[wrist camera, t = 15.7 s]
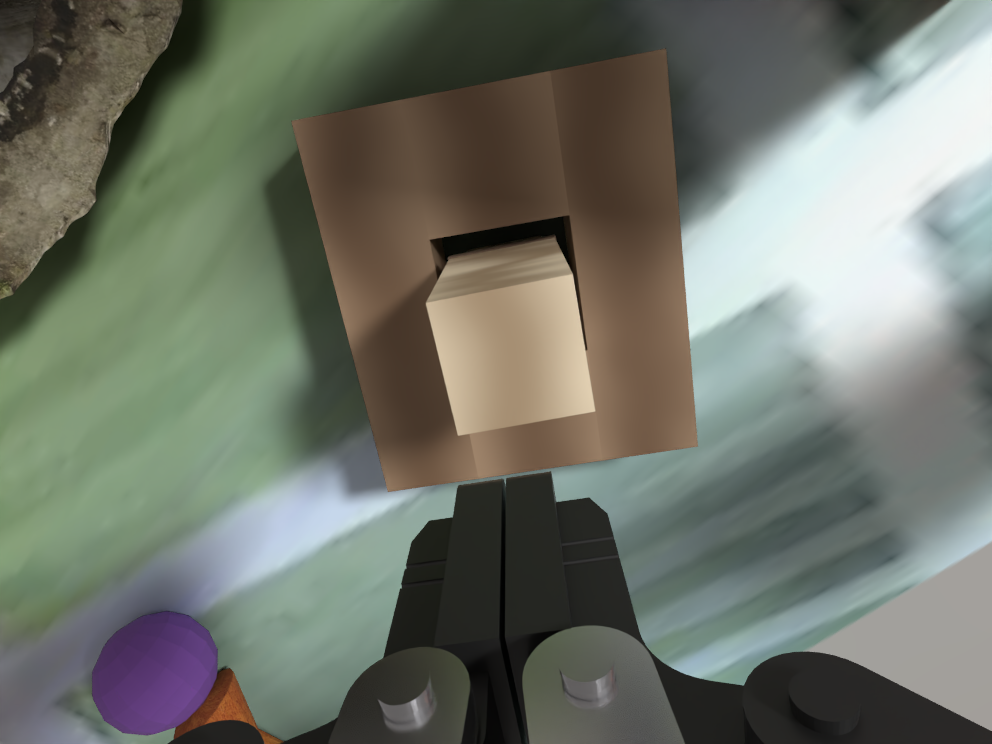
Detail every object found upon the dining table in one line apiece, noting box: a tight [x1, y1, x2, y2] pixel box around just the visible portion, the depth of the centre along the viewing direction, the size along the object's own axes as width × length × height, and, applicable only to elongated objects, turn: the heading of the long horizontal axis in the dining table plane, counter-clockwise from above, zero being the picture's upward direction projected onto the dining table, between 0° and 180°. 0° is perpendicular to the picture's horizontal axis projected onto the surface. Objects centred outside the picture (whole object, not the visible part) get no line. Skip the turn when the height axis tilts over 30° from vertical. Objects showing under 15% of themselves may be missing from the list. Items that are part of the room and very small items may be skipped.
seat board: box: [291, 48, 698, 492], centre depth 28 cm, size 14×16×4 cm
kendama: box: [92, 611, 283, 744], centre depth 37 cm, size 6×6×20 cm
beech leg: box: [426, 235, 595, 436], centre depth 24 cm, size 4×4×12 cm
